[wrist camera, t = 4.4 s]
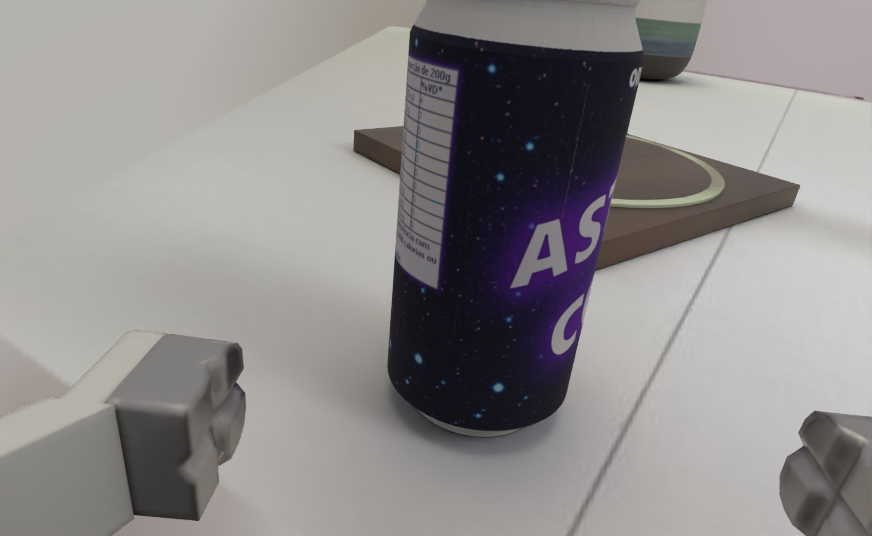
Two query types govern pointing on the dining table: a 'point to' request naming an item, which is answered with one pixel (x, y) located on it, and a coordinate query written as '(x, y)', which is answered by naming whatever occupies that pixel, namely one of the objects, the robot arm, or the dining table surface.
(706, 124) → the dining table surface
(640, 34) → the vase
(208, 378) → the robot arm
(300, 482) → the dining table surface
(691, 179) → the brown flat square board
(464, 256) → the beverage can
